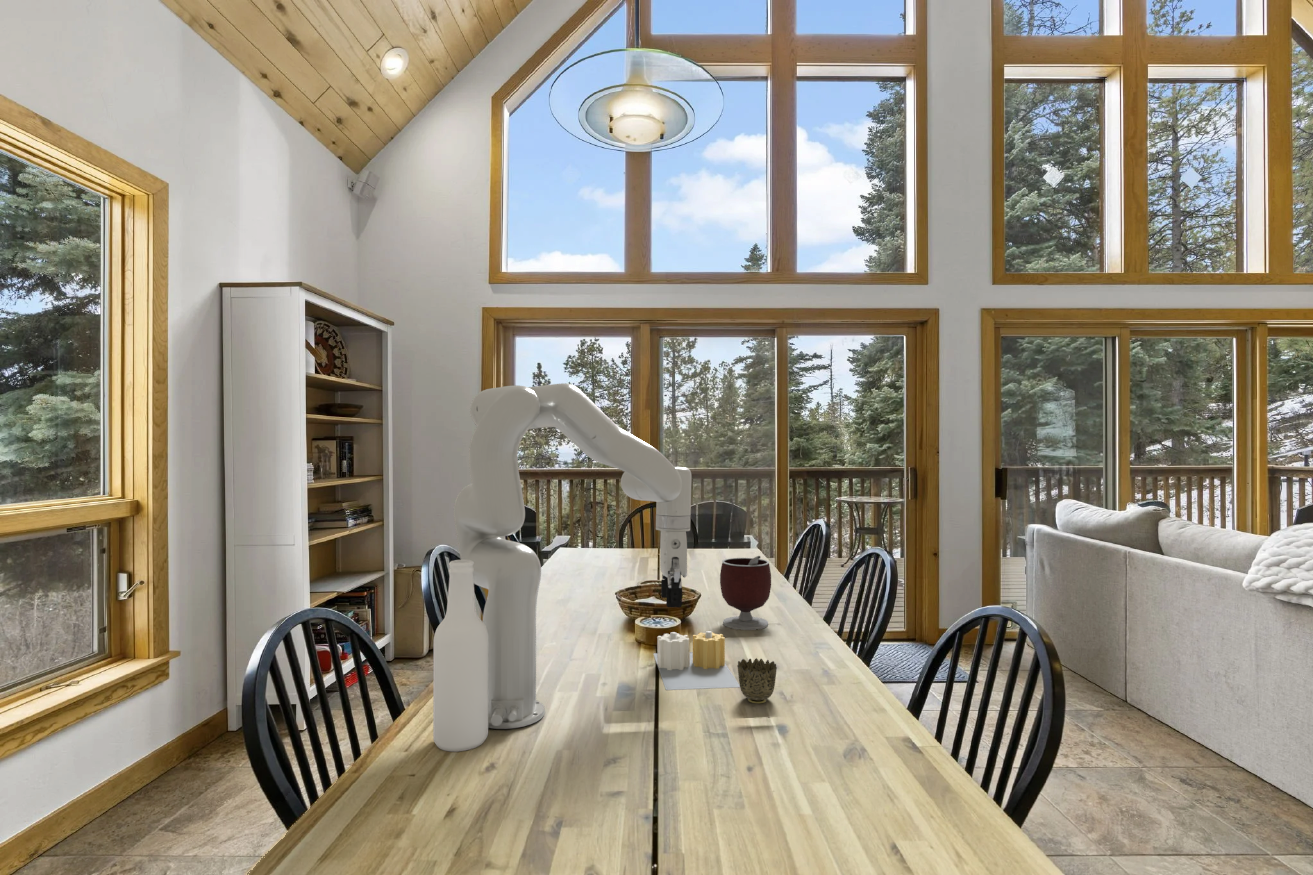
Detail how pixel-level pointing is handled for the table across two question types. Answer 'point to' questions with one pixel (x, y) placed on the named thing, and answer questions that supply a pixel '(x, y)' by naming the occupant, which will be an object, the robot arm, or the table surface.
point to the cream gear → (673, 652)
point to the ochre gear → (708, 651)
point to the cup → (757, 679)
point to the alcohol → (460, 667)
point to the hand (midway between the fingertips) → (670, 602)
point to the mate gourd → (745, 590)
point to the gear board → (697, 675)
